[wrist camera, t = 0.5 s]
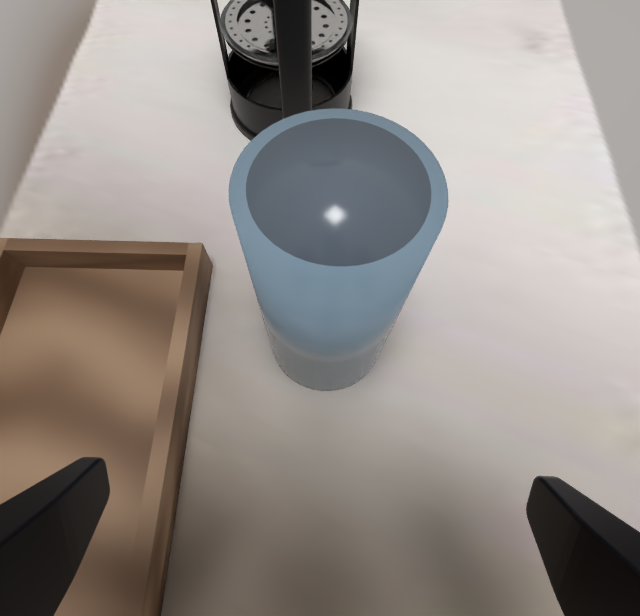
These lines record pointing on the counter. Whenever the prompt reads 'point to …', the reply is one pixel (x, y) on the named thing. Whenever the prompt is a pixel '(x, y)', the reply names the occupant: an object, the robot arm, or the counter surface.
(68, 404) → the tray
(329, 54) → the french press
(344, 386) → the cup
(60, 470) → the robot arm
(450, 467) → the counter surface
